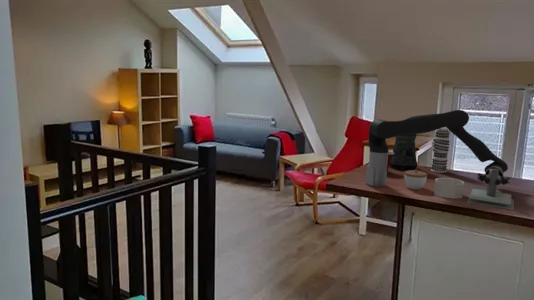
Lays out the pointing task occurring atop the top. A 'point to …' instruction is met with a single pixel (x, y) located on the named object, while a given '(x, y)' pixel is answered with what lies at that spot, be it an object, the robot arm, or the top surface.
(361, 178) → the top surface
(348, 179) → the top surface
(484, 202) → the mat
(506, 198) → the lid
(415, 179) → the lidded jar
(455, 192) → the bowl
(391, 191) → the top surface
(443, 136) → the decorative candle
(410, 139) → the beer stein
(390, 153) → the plastic cup
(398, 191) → the top surface
